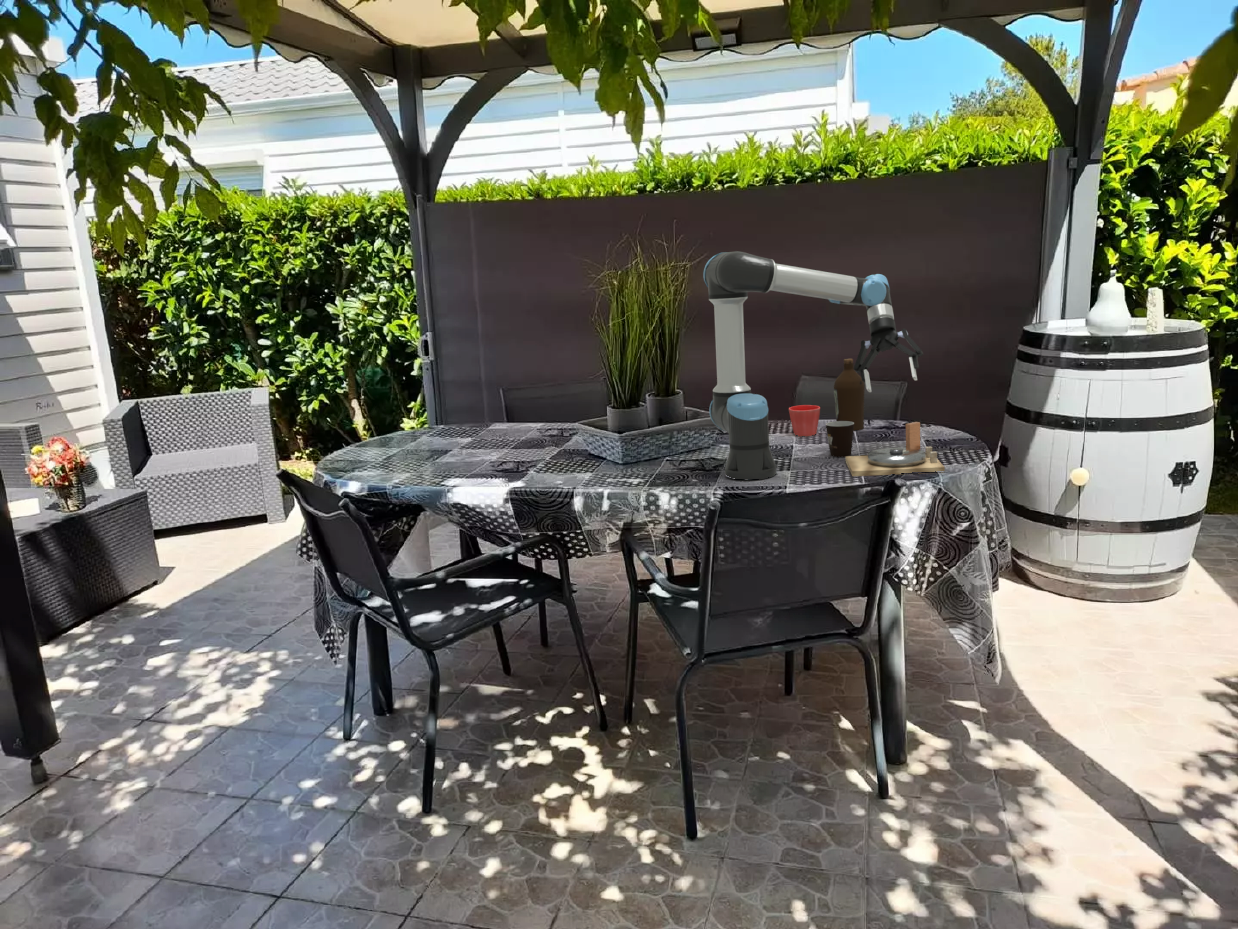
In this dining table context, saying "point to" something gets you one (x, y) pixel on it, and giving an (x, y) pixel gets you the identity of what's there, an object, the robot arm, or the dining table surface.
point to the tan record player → (864, 468)
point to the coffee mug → (840, 438)
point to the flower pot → (804, 419)
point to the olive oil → (849, 396)
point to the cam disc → (901, 451)
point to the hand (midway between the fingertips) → (891, 384)
